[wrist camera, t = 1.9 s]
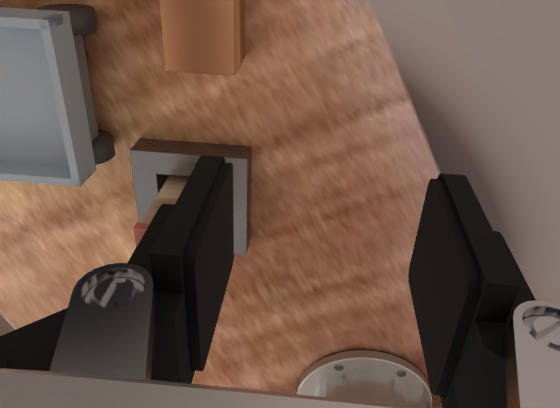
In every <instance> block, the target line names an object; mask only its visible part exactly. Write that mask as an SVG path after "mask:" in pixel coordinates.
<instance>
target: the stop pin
mask: <svg viewBox="0 0 560 408" xmlns="http://www.w3.org/2000/svg"><path fill="white" fill-rule="evenodd" d="M189 177H190V176H178V175H169V177H168V178H167V180H166V182H165V183H164V185H163V187H162V188H161V190H160V192H159V193H158V195H157V197H156V198H155V200H154V202H153V203H152V205H151V207H150V208H149V210H148V212H147V213H146V215H145V217H144V218H143V220H142V222H141V223H139V222H137V223H136V225H135V227H134V234H135V241H136V247H137V246H138V244H139V242H140V240H141V239H142V237H143V235H144V233H145V232H146V230H147V228H148V226H149V224H150V223H151V221H152V219H153V217H154V216H155V214H156V212H157V210H158V209H159V207H160V206H161V205H162V204H175V203H176V201H177V200H178V198H179V196H180V194H181V192H182V190H183V188H184V186H185V184H186V182H187V180H188V178H189Z"/></svg>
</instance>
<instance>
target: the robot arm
mask: <svg viewBox="0 0 560 408" xmlns="http://www.w3.org/2000/svg"><path fill="white" fill-rule="evenodd" d="M233 258H234V217H233V164H232V163H225V158H224V157H222V156H209V155H201V156H200V157H199V159H198V161H197V163H196V165H195V167H194V169H193V171H192V173H191V175H190V177H189V178H188V180H187V182H186V184H185V186H184V188H183V190H182V192H181V194H180V196H179V198H178V200H177V201H176V203H175V204H162V205H161V206H160V207H159V209H158V210H157V212H156V214H155V216H154V217H153V219H152V221H151V223H150V224H149V226H148V228H147V230H146V232H145V233H144V235H143V237H142V239H141V240H140V242H139V244H138V246H137V247H136V249H135V251H134V253H133V254H132V256H131V258H130V260H129V261H128V263H115V264H108V265H104V266H101V267H98V268H96V269H94V270H92V271H90V272H88V273H87V274H85V275H84V276H83V277H82V278H81V279H80V280H79V281H78V282H77V283H76V285H75V287H74V289H73V291H72V295H71V298H70V302H69V305H68V308H66V309H64V310H62V311H59V312H57V313H54V314H52V315H50V316H47V317H45V318H43V319H40V320H38V321H36V322H33V323H31V324H28V325H26V326H24V327H21V328H19V329H17V330H14V331H12V332H10V333H7V334H5V335H2V336H0V408H432V396H431V391H432V393H433V394H434V395H440V398H441V402H442V407H443V408H560V305H559V304H556V303H552V302H548V301H541V300H535V298H534V296H533V294H532V292H531V290H530V288H529V286H528V285H527V283H526V281H525V279H524V277H523V275H522V273H521V271H520V269H519V267H518V265H517V263H516V261H515V259H514V258H513V255H512V253H511V252H510V250H509V248H508V246H507V244H506V242H505V240H504V238H503V236H502V235H501V234H500V232H497V231H493V230H492V228H491V226H490V224H489V222H488V220H487V218H486V216H485V214H484V212H483V210H482V207H481V206H480V203H479V201H478V199H477V197H476V196H475V194H474V191H473V189H472V187H471V185H470V183H469V181H468V179H467V177H466V176H465V175H453V174H441V173H440V175H439V176H438V178H437V179H430V181H429V184H428V188H427V192H426V197H425V201H424V205H423V210H422V214H421V219H420V223H419V227H418V232H417V236H416V241H415V245H414V249H413V254H412V258H411V263H410V267H409V285H410V290H411V295H412V300H413V305H414V310H415V315H416V319H417V324H418V329H419V334H420V339H421V344H422V349H423V354H424V358H425V363H426V368H427V373H428V378H429V383H430V387H429V384H428V382H427V380H426V378H425V377H424V375H423V374H422V373H421V372H420V371H419V370H418V369H417V368H416V367H415V366H414V365H412V364H410V363H409V362H407V361H405V360H404V359H401V358H399V357H396V356H394V355H391V354H387V353H382V352H378V351H368V350H356V351H347V352H341V353H337V354H334V355H331V356H327V357H325V358H323V359H321V360H319V361H317V362H316V363H314V364H313V365H312V366H310V367H309V368H308V369H307V370H306V371H305V372H304V374H303V375H302V376H301V378H300V380H299V382H298V385H297V392H296V394H289V393H279V392H270V391H260V390H250V389H239V388H229V387H219V386H209V385H198V384H191V382H192V379H193V376H194V372H195V370H197V371H203V370H204V367H205V364H206V360H207V356H208V353H209V349H210V345H211V342H212V338H213V335H214V331H215V327H216V324H217V320H218V316H219V313H220V309H221V305H222V302H223V298H224V294H225V291H226V287H227V284H228V280H229V276H230V273H231V269H232V265H233ZM430 388H431V390H430Z"/></svg>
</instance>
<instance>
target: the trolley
mask: <svg viewBox="0 0 560 408" xmlns="http://www.w3.org/2000/svg"><path fill="white" fill-rule="evenodd" d="M96 30H97V26H96V19H95V13H94V8H93V7H91V6H87V5H79V4H57V5H48V6H43V7H39V8H37V9H22V8H6V7H0V180H5V181H18V182H30V183H42V184H54V185H66V186H78V187H81V186H82V185H83V183H84V182H85V181H86V180H87V179H88V178H89V177H90V176H91V174H92V173H93V172H94V171H95V170H96V164H101V163H104V162H106V161H109V160H110V159H112V158H113V157H114V155H115V149H114V142H113V136H112V135H111V134H110V133H109V132H106V131H102V130H98V127H97V121H96V115H95V109H94V103H93V97H92V90H91V84H90V78H89V72H88V66H87V60H86V54H85V47H84V41H83V35H85V34H89V33H93V32H95V31H96Z"/></svg>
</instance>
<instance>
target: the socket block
mask: <svg viewBox="0 0 560 408" xmlns="http://www.w3.org/2000/svg"><path fill="white" fill-rule="evenodd" d="M130 155H131V163H132V170H133V178H134V186H135V194H136V201H137V209H138V217H139V223H141V222H142V220H143V218H144V217H145V215H146V213H147V212H148V210H149V208H150V207H151V205H152V203H153V202H154V200H155V198H156V197H157V195H158V193H159V192H160V190H161V188H162V187H163V185H164V183H165V182H166V175H178V176H190V175H191V173H192V171H193V169H194V167H195V165H196V163H197V161H198V159H199V157H200V156H201V155H209V156H222V157H224V158H225V163H232V164H233V217H234V254H242V255H246V254H247V250H248V246H249V242H250V202H251V147H246V146H233V145H220V144H207V143H194V142H181V141H168V140H154V139H141V138H140V139H139V140H138V141H137V142H136V143H135V145H134V146H133V147H132V148H131V150H130Z"/></svg>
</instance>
